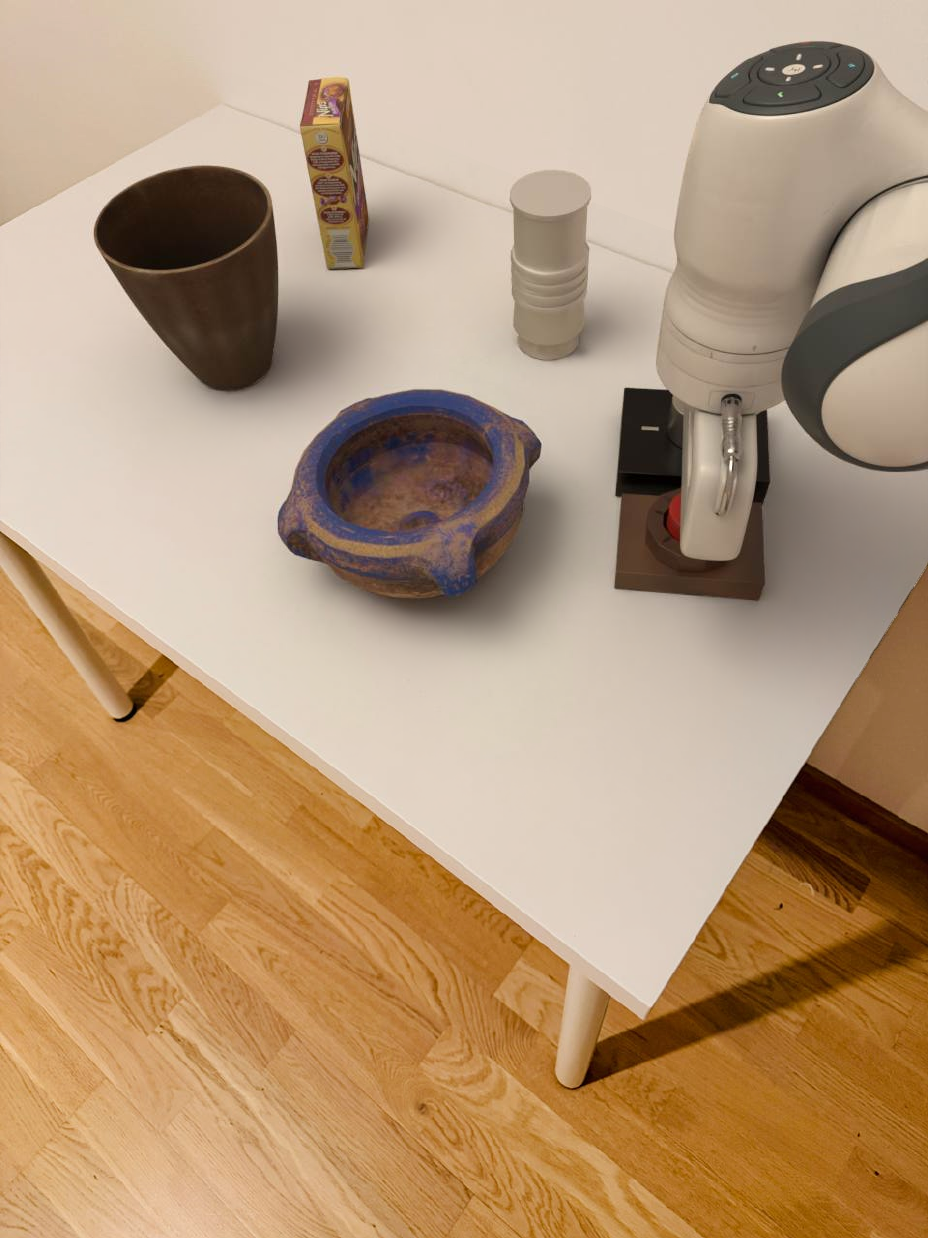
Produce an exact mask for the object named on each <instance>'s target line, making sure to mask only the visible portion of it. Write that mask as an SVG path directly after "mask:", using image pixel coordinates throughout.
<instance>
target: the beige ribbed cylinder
mask: <svg viewBox="0 0 928 1238" xmlns="http://www.w3.org/2000/svg"><path fill="white" fill-rule="evenodd" d="M591 199H592V187H591V185H590V184H589V181H587V180H586V179H585V178H584V177H582V176H581V175H579V174H576V173H574V172H571V171H567V170H561V169H544V170H537V171H534V172H532V173H531V172H530V173H529V174H526V175H524V176H523V177H521V178H519V179H518V180H516V182H514V184H512V185H511V188H510V190H509V202H510V205H511V207H512V211H513V246H512V248H511V250H510V262H511V263H510V271H511V279H510V280H511V281H510V282H511V283H510V284H511V296H512V299H513V301H514V305H513V319H512V321H513V322H512V326H513V329H514V331H515V332H516V334H517V335H518V337H517V344H518V346H519V348H520V349H521V352H523V353H524V354H525V355H527V356H529V357H531V358H534V359H538V360H543V361H553V360H558V359H563V358H564V357H567V356H569V355H570V354H571V353H573V352H574V351H575V350H576V349H577V348H578V346H579V343H580V335H579V334H580V333H581V332H582V331H583V329H584V327H585V299H586V296H587V293H588V280H589V261H590V259H589V258H590V247H589V246H590V245H588V242H587V222H588V221H587V220H588V206H589V204H590V202H591Z"/></svg>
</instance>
